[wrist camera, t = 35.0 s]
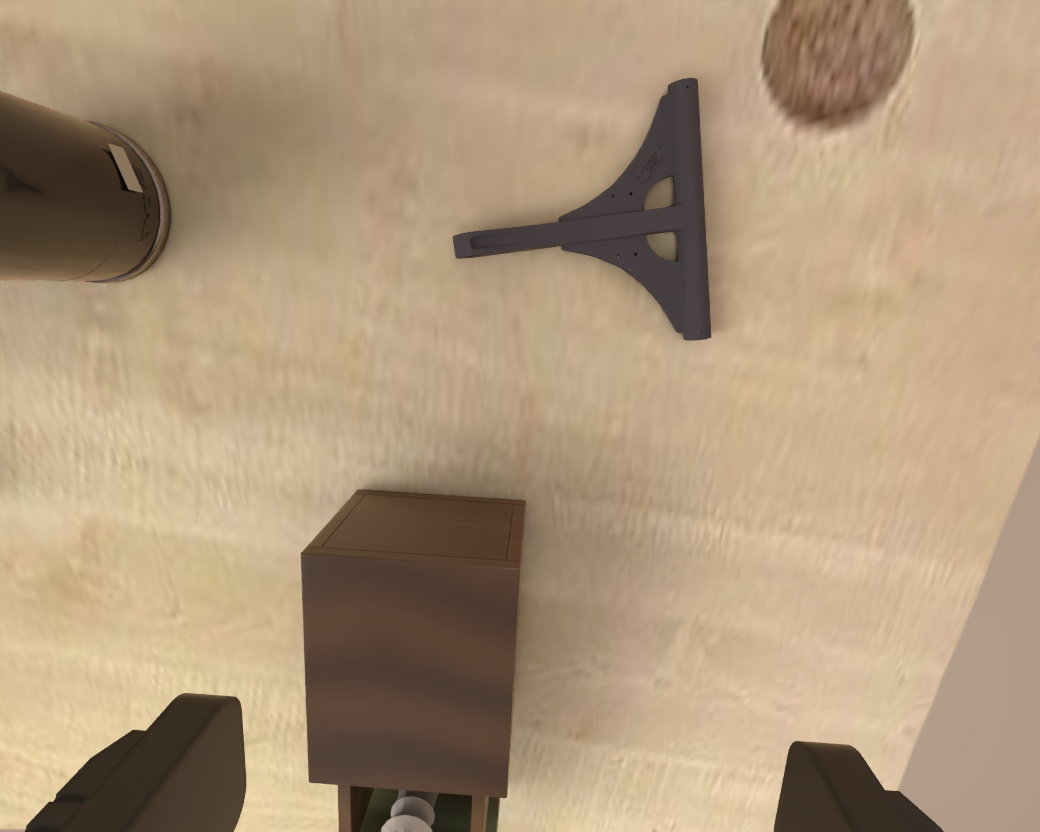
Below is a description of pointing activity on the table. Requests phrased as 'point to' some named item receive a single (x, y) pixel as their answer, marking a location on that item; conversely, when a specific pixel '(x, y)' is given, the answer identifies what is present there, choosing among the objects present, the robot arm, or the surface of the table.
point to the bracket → (637, 218)
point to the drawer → (458, 818)
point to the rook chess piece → (412, 812)
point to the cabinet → (413, 642)
